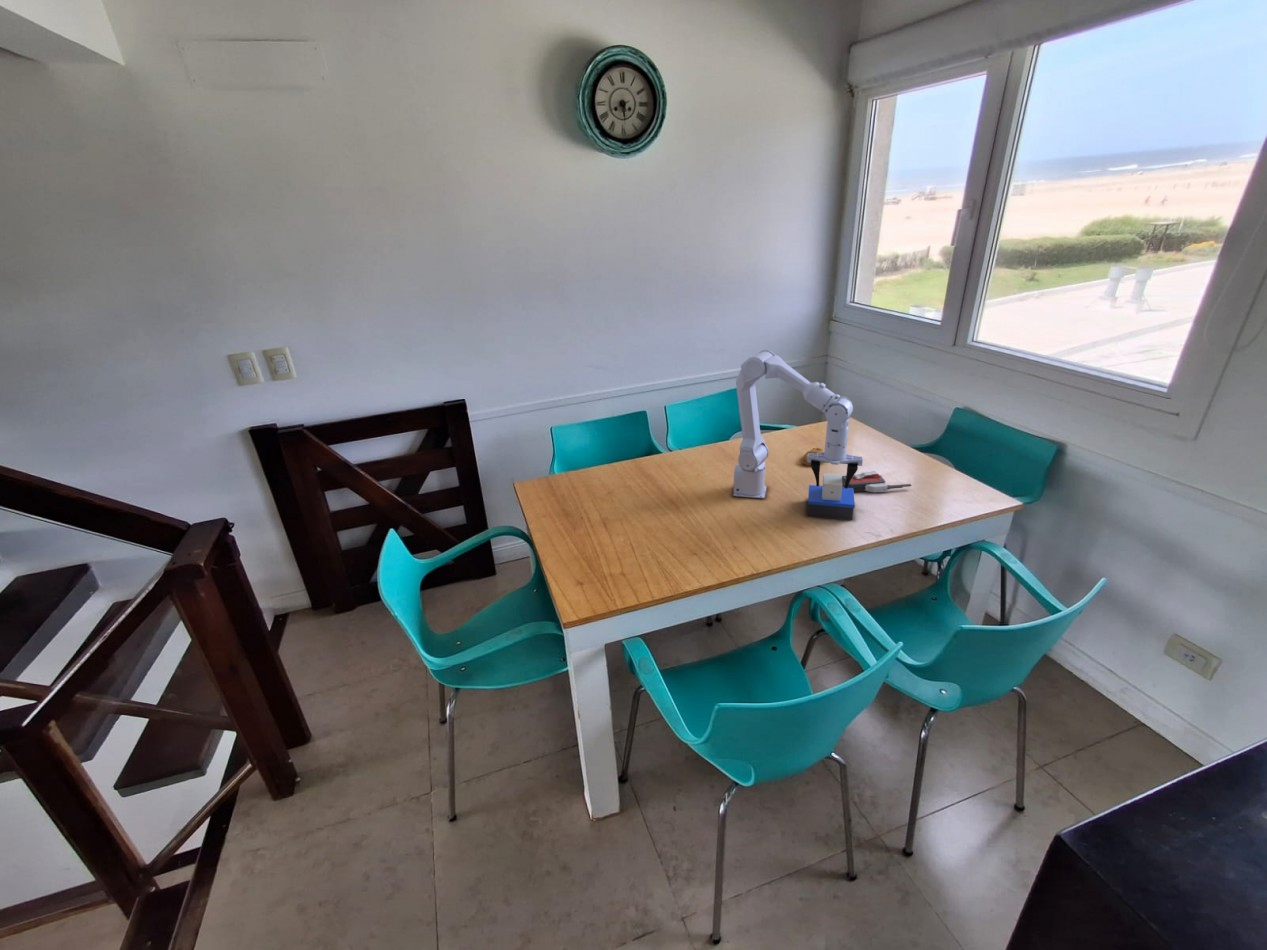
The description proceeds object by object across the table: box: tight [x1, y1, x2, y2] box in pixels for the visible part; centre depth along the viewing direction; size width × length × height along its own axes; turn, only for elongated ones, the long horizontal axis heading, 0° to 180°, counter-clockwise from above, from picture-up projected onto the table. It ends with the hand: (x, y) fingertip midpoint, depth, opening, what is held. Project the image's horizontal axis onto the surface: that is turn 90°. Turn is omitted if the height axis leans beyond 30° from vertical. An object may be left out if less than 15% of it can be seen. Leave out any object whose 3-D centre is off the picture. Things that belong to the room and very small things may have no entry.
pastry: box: [802, 447, 825, 466], centre depth 192 cm, size 9×7×4 cm
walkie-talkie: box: [842, 470, 912, 493], centre depth 172 cm, size 9×4×20 cm
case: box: [821, 472, 843, 501], centre depth 159 cm, size 7×5×5 cm
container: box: [807, 484, 856, 521], centre depth 161 cm, size 12×10×5 cm
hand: (831, 485), depth 159 cm, fingers open, 7 cm apart
